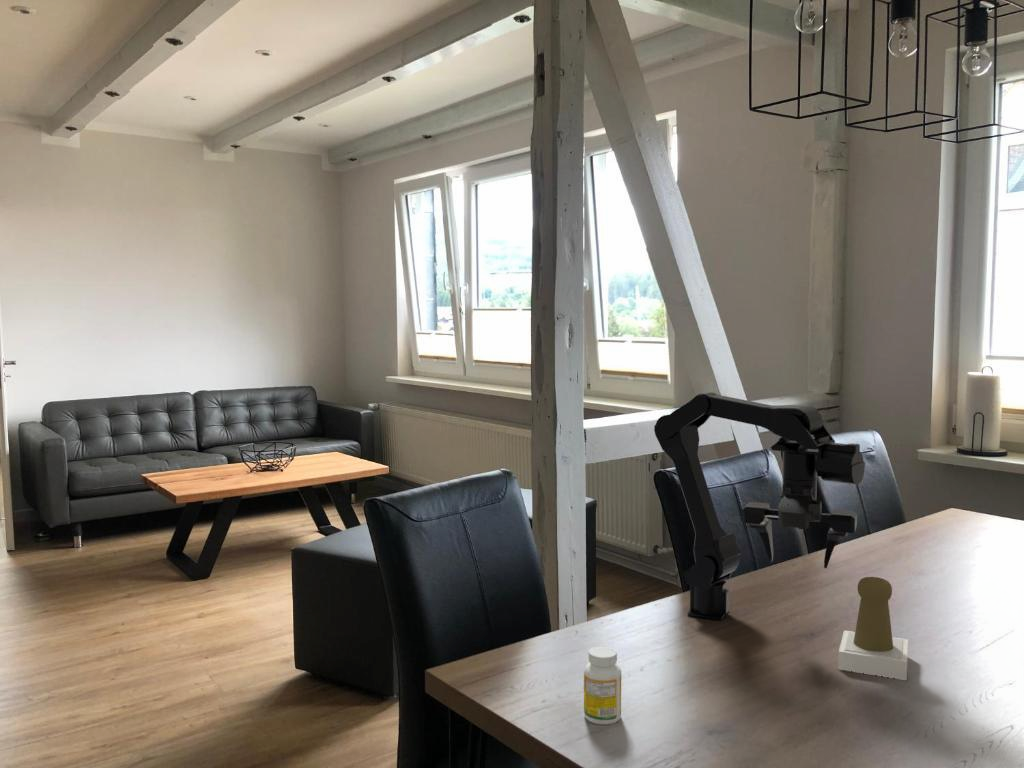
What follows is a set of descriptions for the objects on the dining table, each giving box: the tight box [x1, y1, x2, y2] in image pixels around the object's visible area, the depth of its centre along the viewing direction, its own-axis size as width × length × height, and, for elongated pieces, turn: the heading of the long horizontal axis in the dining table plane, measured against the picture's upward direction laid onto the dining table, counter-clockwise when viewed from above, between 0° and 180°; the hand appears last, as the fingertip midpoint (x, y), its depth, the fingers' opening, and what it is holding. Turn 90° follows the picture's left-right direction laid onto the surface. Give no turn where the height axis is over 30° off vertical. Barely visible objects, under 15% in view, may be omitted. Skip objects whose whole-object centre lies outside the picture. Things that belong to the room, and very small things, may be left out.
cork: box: [853, 576, 893, 652], centre depth 139 cm, size 6×6×11 cm
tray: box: [837, 630, 909, 681], centre depth 139 cm, size 10×10×3 cm
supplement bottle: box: [583, 646, 622, 726], centre depth 122 cm, size 5×5×10 cm
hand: (798, 564), depth 150 cm, fingers open, 9 cm apart
